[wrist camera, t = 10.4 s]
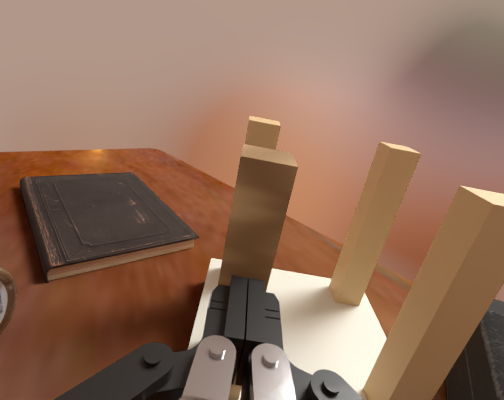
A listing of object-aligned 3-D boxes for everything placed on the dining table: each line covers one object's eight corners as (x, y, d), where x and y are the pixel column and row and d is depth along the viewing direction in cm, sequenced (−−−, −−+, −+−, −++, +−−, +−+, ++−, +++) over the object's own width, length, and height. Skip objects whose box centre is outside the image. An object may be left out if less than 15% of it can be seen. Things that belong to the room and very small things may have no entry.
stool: (156, 486, 16) (195, 171, 10) (207, 281, 33) (235, 111, 26) (439, 524, 17) (657, 258, 10) (351, 305, 34) (414, 146, 27)
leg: (197, 398, 18) (241, 156, 13) (204, 363, 20) (243, 143, 15) (237, 404, 18) (297, 167, 13) (239, 369, 20) (292, 153, 15)
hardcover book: (132, 184, 54) (133, 172, 53) (196, 251, 39) (199, 236, 38) (20, 192, 44) (18, 177, 43) (45, 287, 29) (44, 267, 28)
